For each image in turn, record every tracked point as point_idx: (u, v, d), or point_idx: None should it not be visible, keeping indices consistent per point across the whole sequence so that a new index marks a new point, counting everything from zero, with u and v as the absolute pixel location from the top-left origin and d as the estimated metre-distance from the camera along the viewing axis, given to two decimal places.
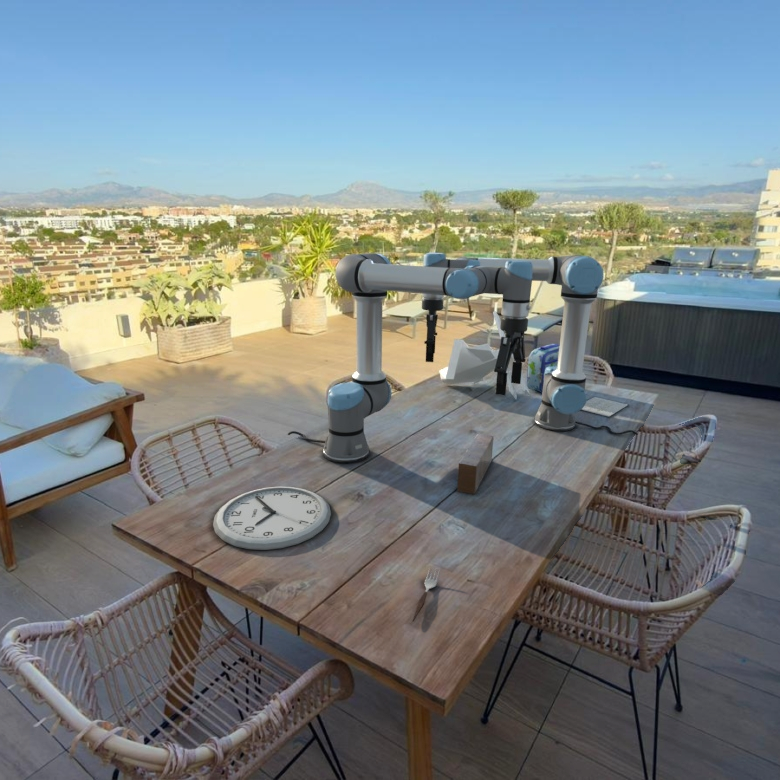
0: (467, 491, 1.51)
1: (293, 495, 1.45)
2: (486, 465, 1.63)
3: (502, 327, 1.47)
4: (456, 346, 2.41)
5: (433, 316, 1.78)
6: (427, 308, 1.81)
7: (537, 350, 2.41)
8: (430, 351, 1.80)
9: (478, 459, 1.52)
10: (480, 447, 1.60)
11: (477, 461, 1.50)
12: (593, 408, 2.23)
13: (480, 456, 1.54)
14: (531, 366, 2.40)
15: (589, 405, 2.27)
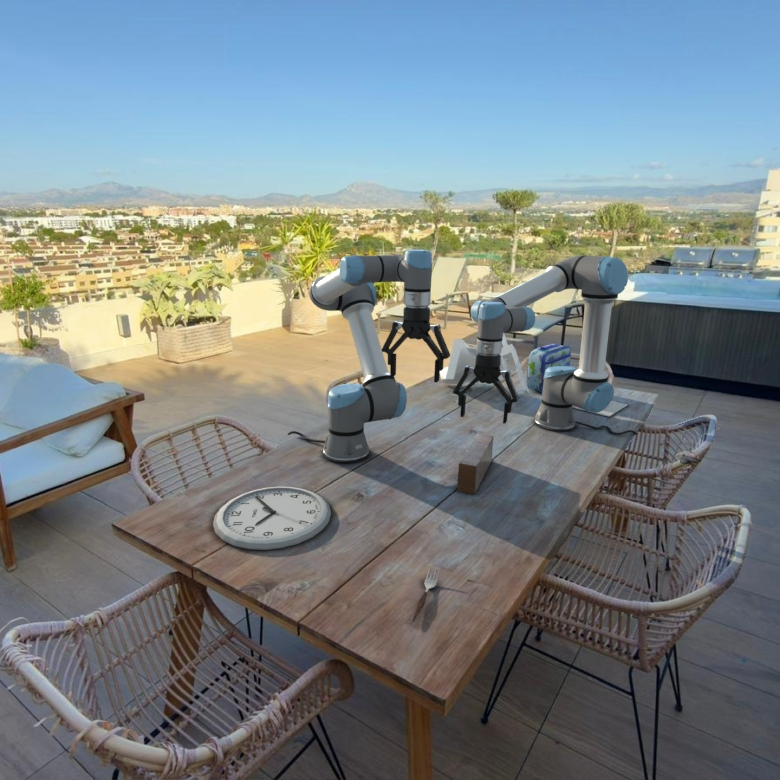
0: (467, 491, 1.51)
1: (293, 495, 1.45)
2: (486, 465, 1.63)
3: None
4: (456, 346, 2.41)
5: (509, 372, 1.59)
6: (497, 365, 1.58)
7: (537, 350, 2.41)
8: None
9: (478, 459, 1.52)
10: (480, 447, 1.60)
11: (477, 461, 1.50)
12: None
13: (480, 456, 1.54)
14: (531, 366, 2.40)
15: None
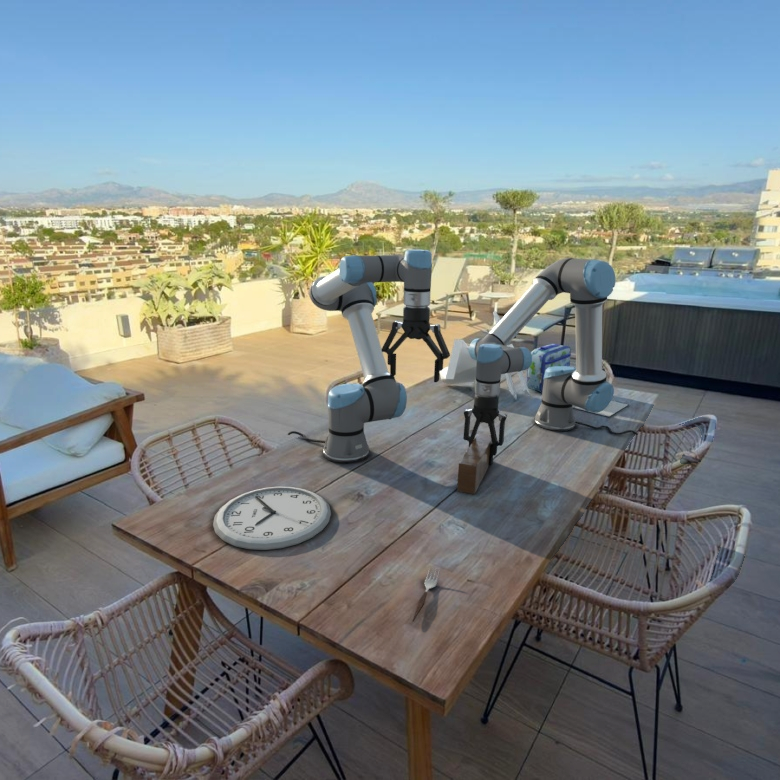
0: (467, 491, 1.51)
1: (293, 495, 1.45)
2: (486, 465, 1.63)
3: None
4: (456, 346, 2.41)
5: (506, 417, 1.63)
6: (495, 406, 1.61)
7: (537, 350, 2.41)
8: (496, 452, 1.67)
9: (478, 459, 1.52)
10: (480, 447, 1.60)
11: (477, 461, 1.50)
12: None
13: (480, 456, 1.54)
14: (531, 366, 2.40)
15: None
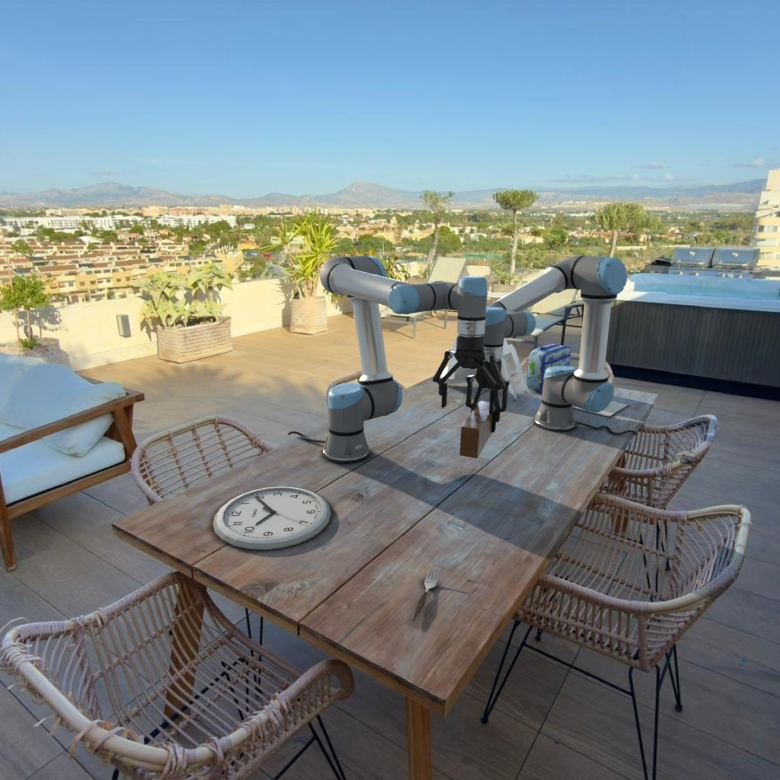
0: (470, 455, 1.47)
1: (293, 495, 1.45)
2: (489, 431, 1.60)
3: None
4: None
5: (509, 382, 1.60)
6: None
7: (537, 350, 2.41)
8: (499, 419, 1.64)
9: (481, 423, 1.48)
10: (483, 412, 1.57)
11: (480, 424, 1.47)
12: None
13: (483, 420, 1.50)
14: (531, 366, 2.40)
15: None
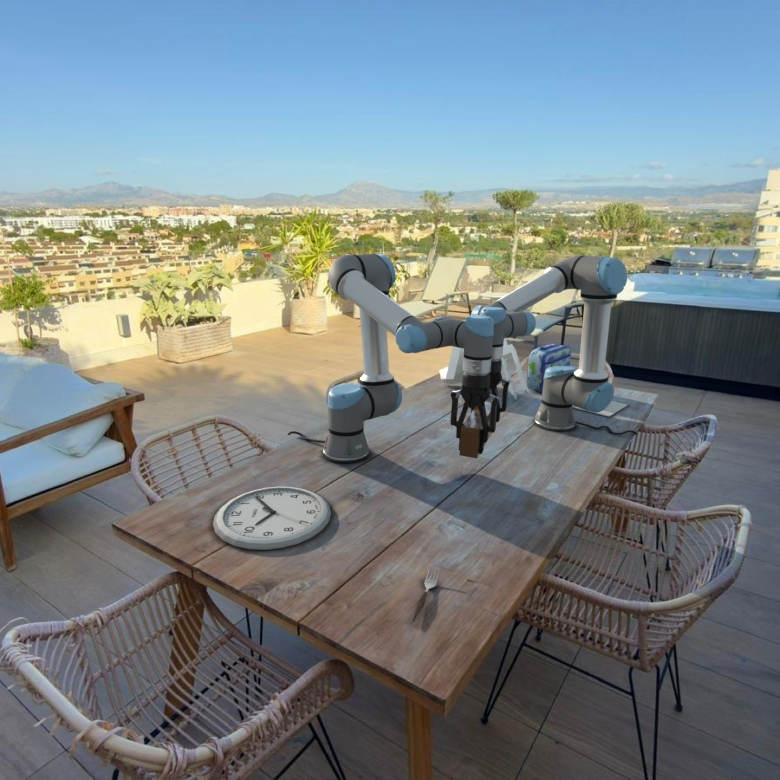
0: (470, 455, 1.47)
1: (293, 495, 1.45)
2: None
3: None
4: None
5: (509, 382, 1.60)
6: (498, 371, 1.58)
7: (537, 350, 2.41)
8: (499, 419, 1.64)
9: (481, 423, 1.48)
10: None
11: (480, 424, 1.47)
12: None
13: None
14: (531, 366, 2.40)
15: None
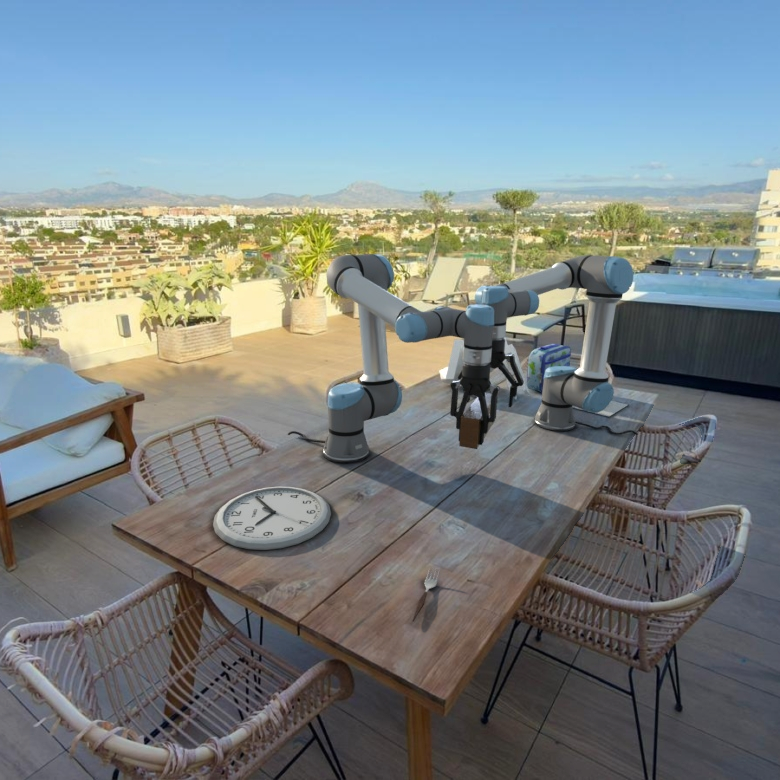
0: (469, 446, 1.46)
1: (293, 495, 1.45)
2: (489, 423, 1.59)
3: None
4: (456, 346, 2.41)
5: (514, 356, 1.59)
6: (502, 349, 1.58)
7: (537, 350, 2.41)
8: (516, 394, 1.62)
9: (481, 413, 1.47)
10: None
11: (480, 415, 1.46)
12: None
13: None
14: (531, 366, 2.40)
15: None
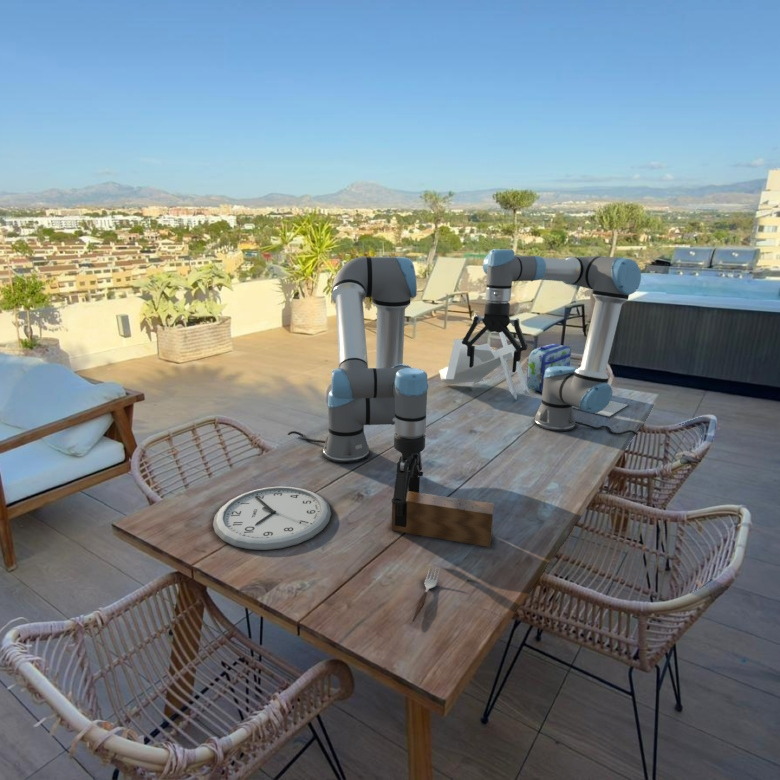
0: None
1: (293, 495, 1.45)
2: (454, 532, 1.27)
3: None
4: (456, 346, 2.41)
5: (518, 320, 1.59)
6: (507, 313, 1.58)
7: (537, 350, 2.41)
8: None
9: (411, 500, 1.28)
10: (447, 503, 1.27)
11: None
12: None
13: (420, 502, 1.28)
14: (531, 366, 2.40)
15: None
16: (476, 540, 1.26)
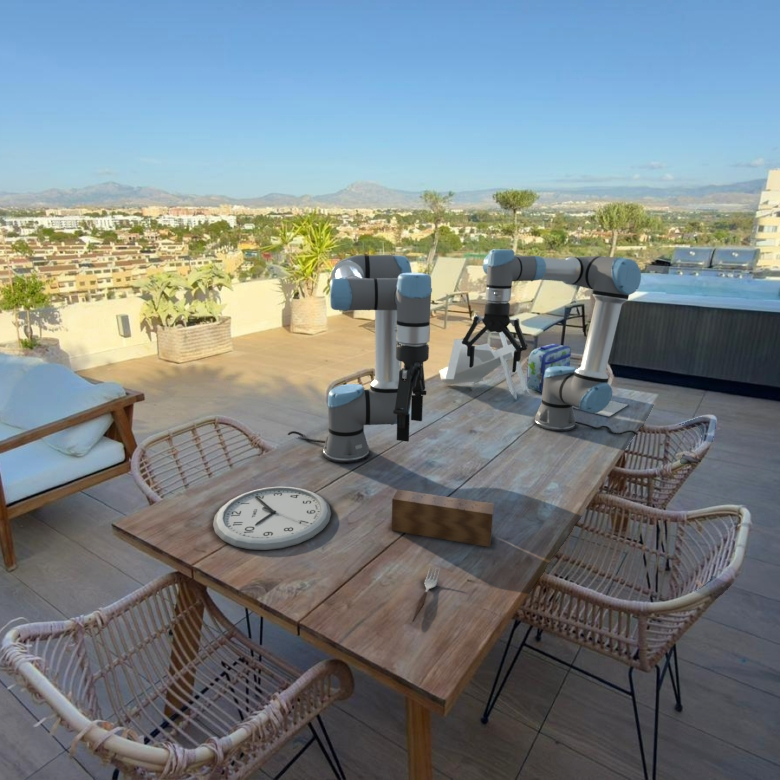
0: None
1: (293, 495, 1.45)
2: (454, 532, 1.27)
3: None
4: (456, 346, 2.41)
5: (518, 320, 1.59)
6: (507, 313, 1.58)
7: (537, 350, 2.41)
8: None
9: (411, 500, 1.28)
10: (447, 503, 1.27)
11: (405, 499, 1.28)
12: None
13: (420, 502, 1.28)
14: (531, 366, 2.40)
15: None
16: (476, 540, 1.26)
